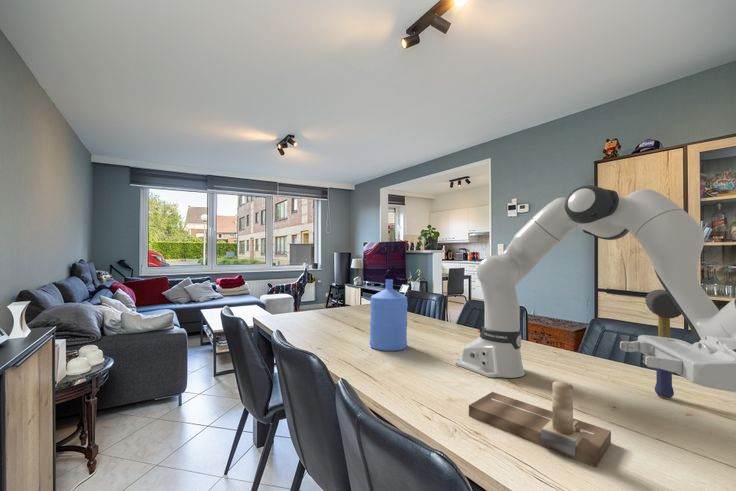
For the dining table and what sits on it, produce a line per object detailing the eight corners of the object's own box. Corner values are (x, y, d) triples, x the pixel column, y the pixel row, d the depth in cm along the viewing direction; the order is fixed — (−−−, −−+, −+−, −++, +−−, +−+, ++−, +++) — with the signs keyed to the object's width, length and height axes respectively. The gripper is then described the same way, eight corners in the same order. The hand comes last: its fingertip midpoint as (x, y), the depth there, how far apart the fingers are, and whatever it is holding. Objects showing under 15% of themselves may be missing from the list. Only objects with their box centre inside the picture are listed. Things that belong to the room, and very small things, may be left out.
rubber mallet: (688, 409, 85) (687, 292, 86) (650, 402, 90) (649, 290, 90) (677, 393, 96) (676, 289, 96) (643, 387, 100) (643, 287, 101)
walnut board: (468, 415, 80) (468, 404, 80) (492, 401, 88) (492, 391, 89) (596, 467, 61) (596, 453, 61) (610, 442, 70) (610, 430, 70)
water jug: (408, 352, 132) (410, 281, 132) (369, 351, 132) (370, 280, 132) (405, 341, 147) (405, 278, 148) (369, 341, 147) (370, 278, 148)
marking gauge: (540, 442, 67) (541, 384, 68) (550, 432, 71) (550, 377, 72) (574, 456, 63) (574, 394, 63) (583, 444, 67) (583, 386, 67)
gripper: (687, 331, 70) (610, 325, 74) (771, 362, 51) (661, 351, 55) (686, 361, 70) (610, 353, 74) (770, 403, 51) (660, 389, 55)
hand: (632, 352), depth 64 cm, fingers open, 8 cm apart
